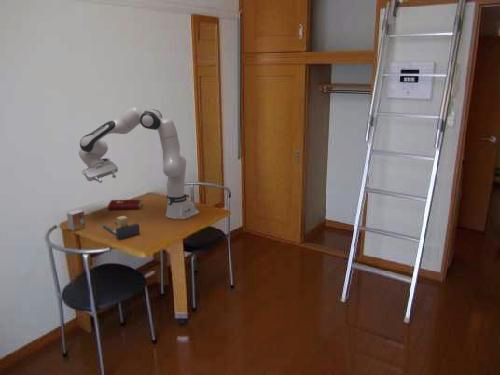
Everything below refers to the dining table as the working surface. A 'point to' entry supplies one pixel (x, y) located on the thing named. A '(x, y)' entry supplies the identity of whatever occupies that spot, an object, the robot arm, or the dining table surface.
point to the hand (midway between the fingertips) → (108, 179)
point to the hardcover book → (124, 205)
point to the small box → (76, 220)
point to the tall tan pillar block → (122, 221)
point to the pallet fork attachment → (124, 231)
